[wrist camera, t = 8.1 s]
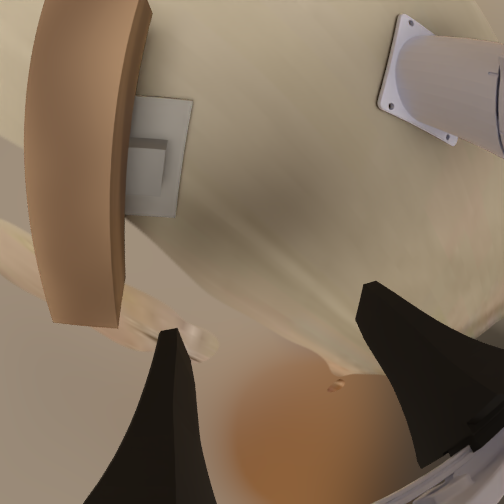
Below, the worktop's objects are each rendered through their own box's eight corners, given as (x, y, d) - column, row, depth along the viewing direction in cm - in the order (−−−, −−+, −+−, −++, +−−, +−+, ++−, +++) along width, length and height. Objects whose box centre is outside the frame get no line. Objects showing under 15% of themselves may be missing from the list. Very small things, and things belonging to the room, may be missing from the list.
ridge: (192, 100, 14) (195, 104, 12) (175, 212, 18) (175, 238, 15) (44, 96, 11) (19, 102, 9) (44, 205, 15) (25, 229, 12)
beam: (152, 13, 9) (142, -12, 5) (125, 276, 16) (117, 328, 12) (80, 15, 8) (45, -3, 4) (70, 273, 15) (53, 322, 11)
